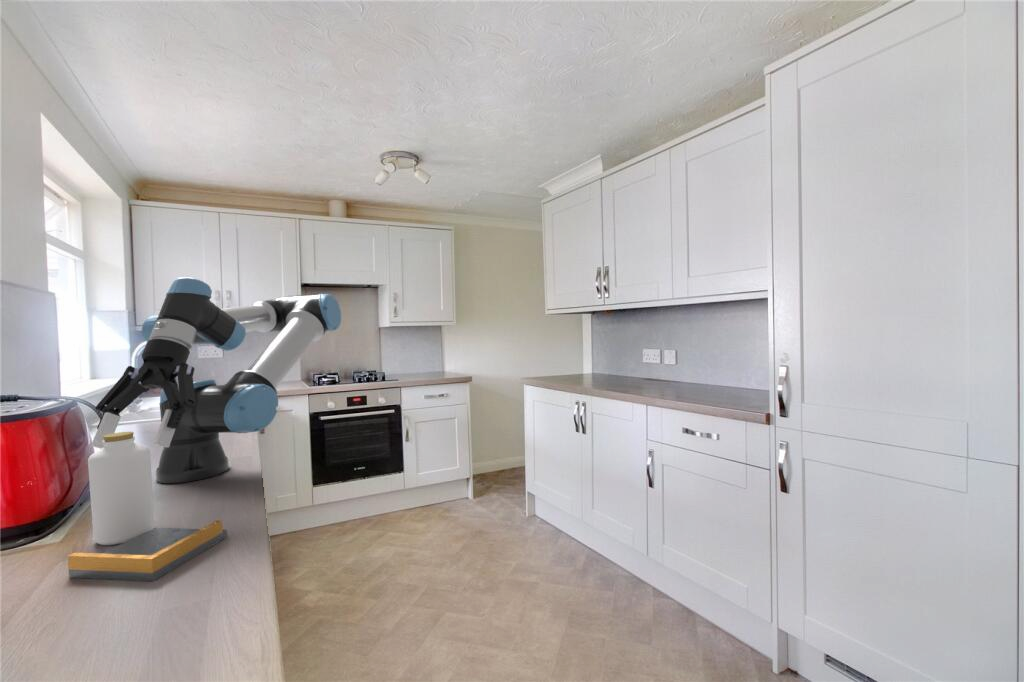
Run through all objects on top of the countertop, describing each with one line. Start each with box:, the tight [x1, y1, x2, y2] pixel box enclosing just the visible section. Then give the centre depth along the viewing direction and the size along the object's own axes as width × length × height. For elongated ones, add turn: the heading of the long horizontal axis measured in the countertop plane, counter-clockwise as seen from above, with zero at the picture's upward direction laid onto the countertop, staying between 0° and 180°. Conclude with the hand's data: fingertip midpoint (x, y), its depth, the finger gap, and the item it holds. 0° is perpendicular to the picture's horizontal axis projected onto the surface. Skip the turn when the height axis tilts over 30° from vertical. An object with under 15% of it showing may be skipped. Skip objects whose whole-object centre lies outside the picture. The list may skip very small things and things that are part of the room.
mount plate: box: [67, 520, 228, 582], centre depth 74 cm, size 14×14×3 cm
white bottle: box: [87, 431, 156, 546], centre depth 82 cm, size 8×8×18 cm
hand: (129, 446), depth 88 cm, fingers open, 13 cm apart
